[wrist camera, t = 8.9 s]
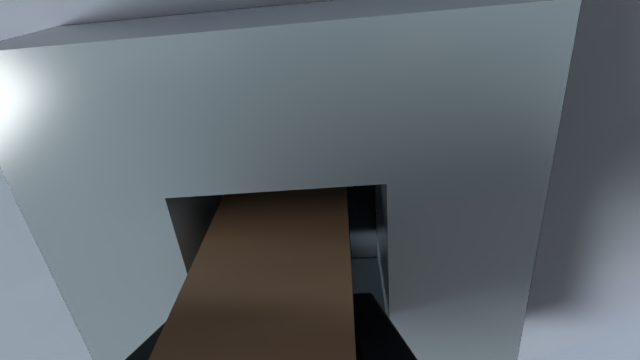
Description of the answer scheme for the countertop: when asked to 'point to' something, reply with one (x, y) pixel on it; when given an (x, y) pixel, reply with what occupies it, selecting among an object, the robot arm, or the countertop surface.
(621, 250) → the countertop surface
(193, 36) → the holder
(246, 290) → the peg
